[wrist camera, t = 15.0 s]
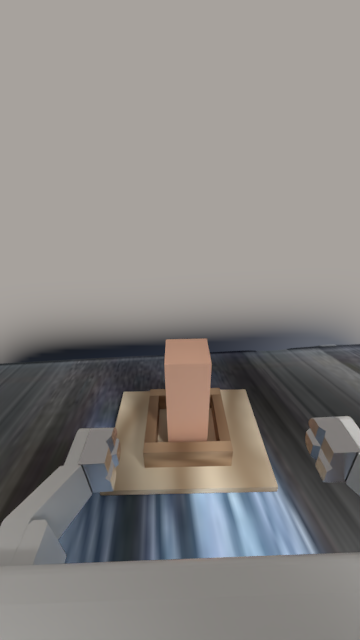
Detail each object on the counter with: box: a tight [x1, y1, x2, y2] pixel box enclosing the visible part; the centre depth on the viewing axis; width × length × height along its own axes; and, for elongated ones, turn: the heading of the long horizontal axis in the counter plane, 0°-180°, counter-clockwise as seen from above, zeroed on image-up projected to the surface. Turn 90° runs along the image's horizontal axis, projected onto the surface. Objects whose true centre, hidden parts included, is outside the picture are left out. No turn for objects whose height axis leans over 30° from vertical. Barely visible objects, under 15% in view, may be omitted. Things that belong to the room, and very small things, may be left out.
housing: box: [100, 388, 278, 495], centre depth 32 cm, size 18×14×3 cm
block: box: [164, 339, 212, 442], centre depth 30 cm, size 4×4×12 cm
